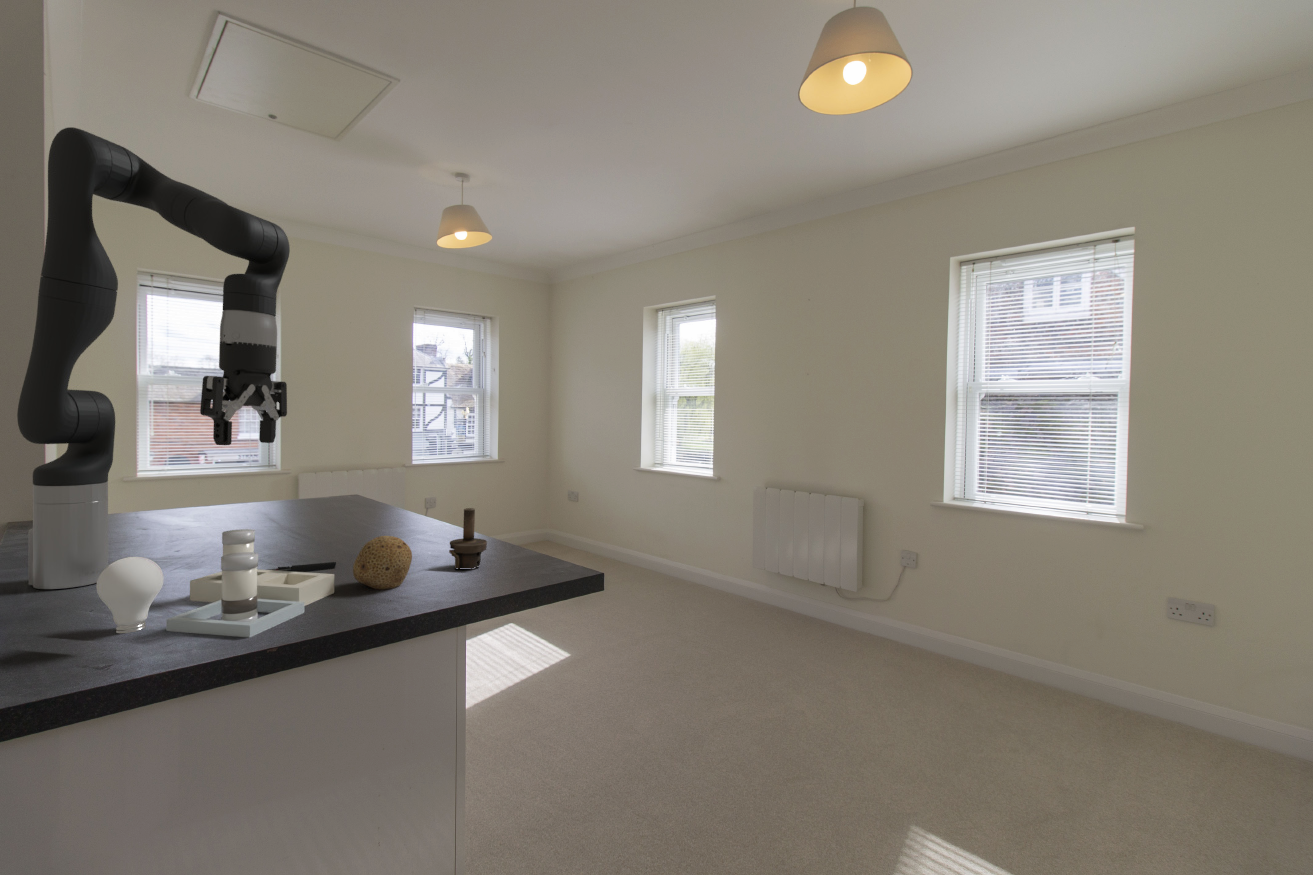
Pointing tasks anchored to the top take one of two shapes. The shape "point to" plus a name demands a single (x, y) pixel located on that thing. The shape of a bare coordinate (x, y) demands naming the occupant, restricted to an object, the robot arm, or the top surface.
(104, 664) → the top surface
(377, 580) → the natural sponge
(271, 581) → the cream divided tray
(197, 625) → the tray
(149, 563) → the light bulb
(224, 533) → the fuse
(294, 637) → the top surface
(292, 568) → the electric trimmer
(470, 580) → the top surface
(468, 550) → the industrial component
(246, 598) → the cream and grey canister
